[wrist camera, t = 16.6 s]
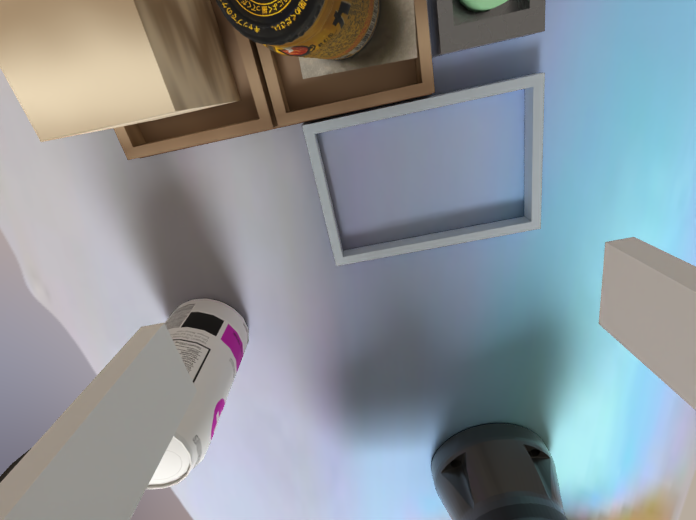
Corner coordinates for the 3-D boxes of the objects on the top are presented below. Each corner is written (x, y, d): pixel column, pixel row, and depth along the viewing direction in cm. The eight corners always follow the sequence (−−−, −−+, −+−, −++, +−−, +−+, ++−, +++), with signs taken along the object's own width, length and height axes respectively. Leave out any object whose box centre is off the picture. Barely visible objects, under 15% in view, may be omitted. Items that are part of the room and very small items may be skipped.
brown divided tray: (428, 93, 29) (437, 94, 26) (146, 155, 31) (126, 163, 28) (407, -124, 24) (416, -152, 21) (66, -31, 26) (30, -46, 23)
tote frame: (532, 222, 34) (540, 228, 33) (336, 259, 35) (336, 266, 34) (535, 73, 29) (544, 72, 27) (303, 123, 30) (302, 125, 29)
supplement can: (266, 327, 39) (224, 456, 25) (219, 369, 41) (158, 508, 28) (202, 279, 36) (118, 395, 23) (157, 328, 39) (56, 458, 25)
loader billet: (240, 100, 28) (175, 111, 17) (155, 119, 29) (41, 142, 18) (202, -26, 25) (91, -110, 14) (106, -1, 25) (-72, -64, 15)
